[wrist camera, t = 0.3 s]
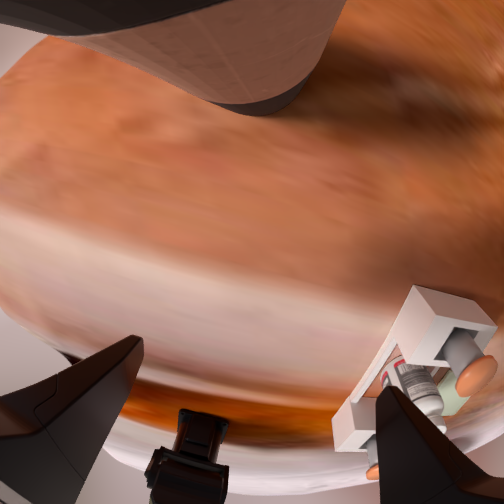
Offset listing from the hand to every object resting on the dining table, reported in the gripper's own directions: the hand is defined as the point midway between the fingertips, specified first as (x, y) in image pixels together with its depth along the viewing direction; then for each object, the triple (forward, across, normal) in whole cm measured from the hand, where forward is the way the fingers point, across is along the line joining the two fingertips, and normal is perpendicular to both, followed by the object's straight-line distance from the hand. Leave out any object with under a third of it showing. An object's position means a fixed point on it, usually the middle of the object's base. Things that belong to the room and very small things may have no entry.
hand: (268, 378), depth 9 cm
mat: (+14, -29, +15) cm, 36 cm away
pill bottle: (+14, -17, +11) cm, 25 cm away
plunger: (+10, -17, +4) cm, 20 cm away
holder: (+14, -17, +11) cm, 25 cm away
